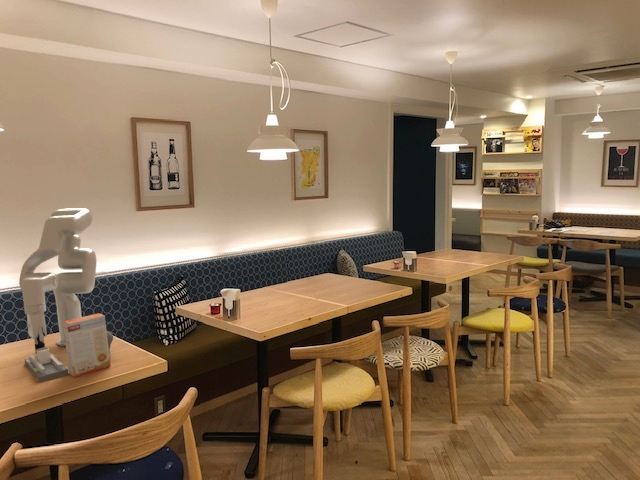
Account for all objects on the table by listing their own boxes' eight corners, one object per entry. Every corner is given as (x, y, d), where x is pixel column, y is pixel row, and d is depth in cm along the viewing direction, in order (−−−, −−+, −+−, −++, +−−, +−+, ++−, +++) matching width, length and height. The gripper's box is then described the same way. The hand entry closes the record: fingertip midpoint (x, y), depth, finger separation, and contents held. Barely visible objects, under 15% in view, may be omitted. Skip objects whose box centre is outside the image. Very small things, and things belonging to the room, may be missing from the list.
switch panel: (52, 357, 218) (51, 348, 218) (68, 374, 200) (67, 364, 200) (25, 364, 212) (24, 354, 211) (39, 381, 194) (38, 372, 193)
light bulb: (96, 356, 217) (93, 333, 216) (104, 351, 223) (102, 328, 222) (109, 357, 216) (107, 333, 215) (117, 351, 222) (115, 329, 221)
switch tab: (48, 359, 210) (46, 345, 209) (50, 362, 207) (49, 348, 206) (37, 362, 207) (36, 348, 207) (40, 364, 204) (38, 350, 204)
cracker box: (105, 363, 210) (99, 312, 207) (111, 367, 206) (105, 315, 203) (68, 373, 201) (62, 320, 198) (73, 377, 197) (67, 323, 193)
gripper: (20, 306, 210) (26, 350, 213) (28, 313, 199) (34, 360, 202) (41, 302, 215) (46, 345, 218) (50, 309, 204) (55, 355, 206)
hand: (40, 352), depth 210 cm, fingers closed
